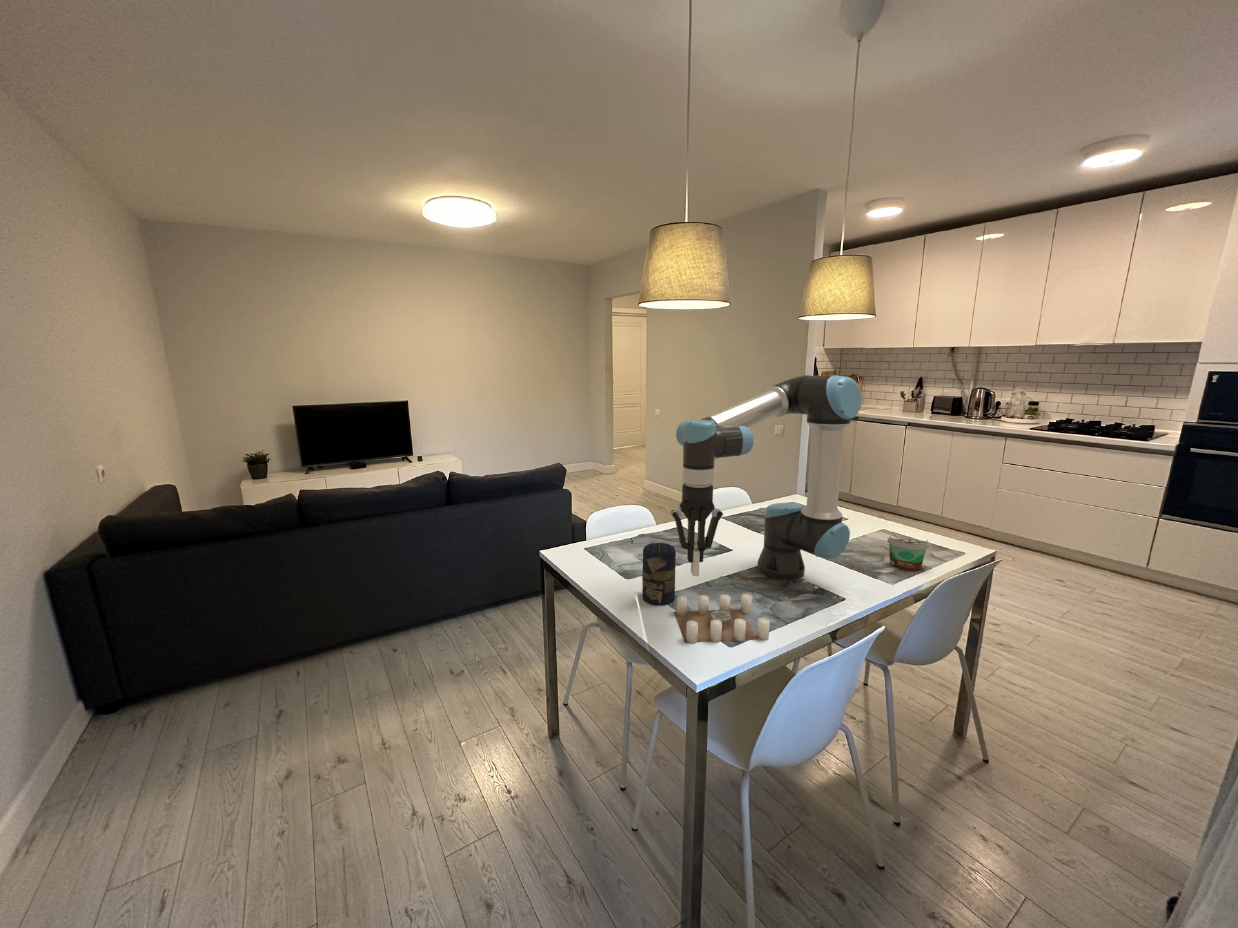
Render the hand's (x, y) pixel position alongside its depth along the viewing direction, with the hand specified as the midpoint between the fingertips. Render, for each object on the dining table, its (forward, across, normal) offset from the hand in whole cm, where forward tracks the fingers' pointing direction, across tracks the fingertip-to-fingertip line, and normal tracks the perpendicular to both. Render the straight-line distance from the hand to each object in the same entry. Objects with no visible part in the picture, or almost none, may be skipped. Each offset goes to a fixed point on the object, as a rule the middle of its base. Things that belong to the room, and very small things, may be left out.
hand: (694, 573), depth 122 cm
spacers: (+15, -7, 0) cm, 16 cm away
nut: (+15, -7, 0) cm, 16 cm away
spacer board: (+16, -9, 0) cm, 18 cm away
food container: (+15, -80, -32) cm, 88 cm away
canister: (+16, +7, -16) cm, 24 cm away
